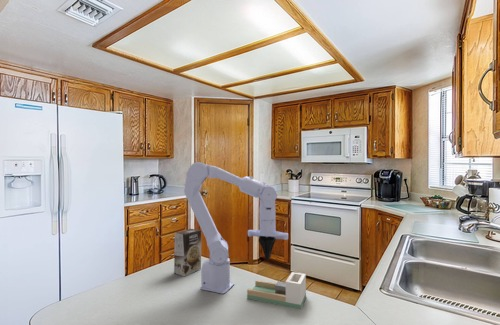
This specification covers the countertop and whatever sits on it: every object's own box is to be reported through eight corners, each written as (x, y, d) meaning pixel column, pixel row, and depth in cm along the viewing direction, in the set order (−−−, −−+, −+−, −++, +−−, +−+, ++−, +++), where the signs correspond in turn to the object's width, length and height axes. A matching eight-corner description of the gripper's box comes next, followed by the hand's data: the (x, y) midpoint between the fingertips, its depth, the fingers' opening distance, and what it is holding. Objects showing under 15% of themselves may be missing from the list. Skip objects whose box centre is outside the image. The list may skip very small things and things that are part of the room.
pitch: (247, 298, 83) (247, 275, 83) (256, 287, 90) (256, 266, 90) (300, 309, 76) (300, 284, 76) (305, 296, 84) (305, 274, 84)
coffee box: (185, 276, 100) (185, 234, 100) (173, 273, 103) (173, 232, 104) (201, 269, 107) (201, 229, 108) (190, 266, 111) (190, 227, 111)
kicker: (275, 294, 82) (275, 285, 82) (278, 290, 85) (277, 281, 85) (287, 297, 80) (287, 287, 80) (290, 292, 83) (290, 283, 83)
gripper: (290, 218, 94) (290, 257, 93) (252, 216, 99) (253, 252, 99) (285, 222, 87) (285, 263, 87) (245, 219, 93) (245, 258, 92)
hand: (267, 258), depth 92 cm, fingers closed
